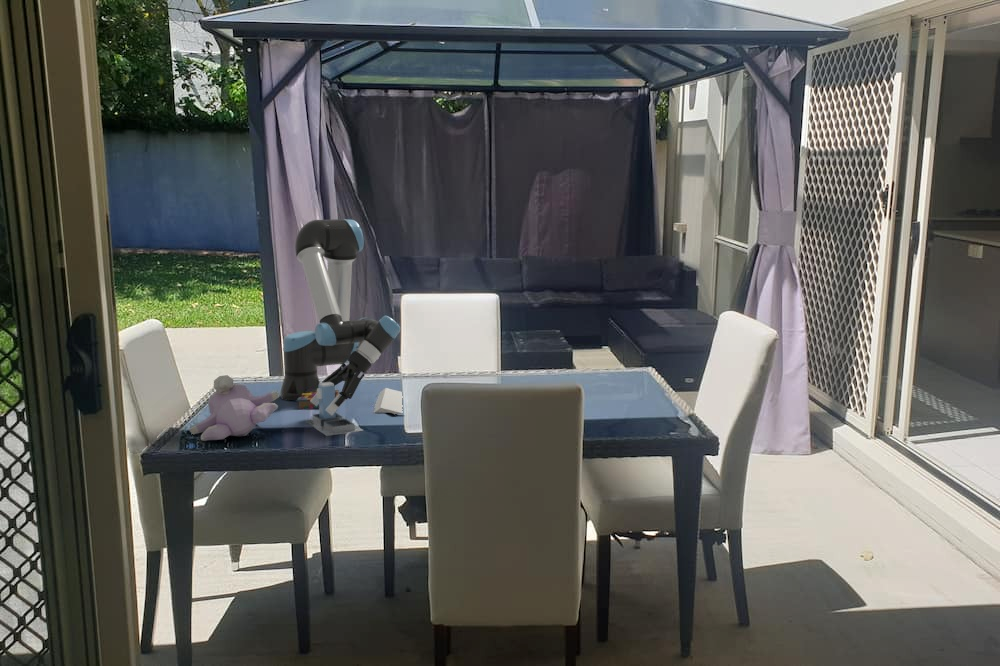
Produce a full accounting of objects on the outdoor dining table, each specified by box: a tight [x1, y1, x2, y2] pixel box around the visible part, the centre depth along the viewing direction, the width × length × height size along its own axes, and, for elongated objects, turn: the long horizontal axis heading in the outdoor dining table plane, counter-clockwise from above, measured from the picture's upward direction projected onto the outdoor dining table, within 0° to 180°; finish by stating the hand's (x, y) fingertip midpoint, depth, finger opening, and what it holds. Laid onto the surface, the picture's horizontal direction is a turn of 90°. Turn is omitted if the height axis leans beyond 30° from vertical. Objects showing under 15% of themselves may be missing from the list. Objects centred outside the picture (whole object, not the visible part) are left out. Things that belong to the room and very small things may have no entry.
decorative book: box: [296, 389, 339, 410], centre depth 303 cm, size 11×16×5 cm
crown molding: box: [373, 387, 403, 415], centre depth 305 cm, size 29×12×4 cm, turn 4°
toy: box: [188, 374, 281, 442], centre depth 272 cm, size 29×17×30 cm
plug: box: [317, 382, 337, 419], centre depth 278 cm, size 4×5×13 cm
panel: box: [304, 412, 364, 437], centre depth 275 cm, size 20×12×3 cm, turn 32°
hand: (320, 408), depth 277 cm, fingers open, 13 cm apart
